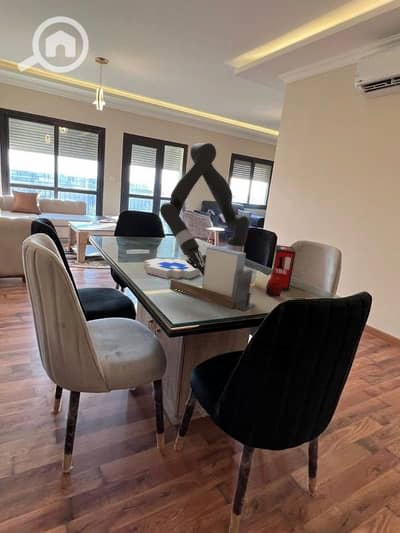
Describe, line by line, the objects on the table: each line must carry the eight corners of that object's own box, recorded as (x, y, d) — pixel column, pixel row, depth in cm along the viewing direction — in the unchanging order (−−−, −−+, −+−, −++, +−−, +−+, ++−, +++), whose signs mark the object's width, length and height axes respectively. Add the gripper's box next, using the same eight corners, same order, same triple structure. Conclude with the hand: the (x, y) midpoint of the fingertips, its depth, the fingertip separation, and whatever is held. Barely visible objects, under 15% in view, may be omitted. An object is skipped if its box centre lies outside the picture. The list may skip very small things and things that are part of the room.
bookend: (244, 301, 134) (249, 269, 131) (256, 304, 131) (261, 272, 128) (229, 308, 124) (234, 274, 120) (242, 312, 121) (247, 277, 118)
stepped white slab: (206, 265, 176) (180, 274, 152) (206, 272, 177) (180, 282, 153) (165, 256, 188) (134, 263, 164) (164, 262, 189) (134, 270, 165)
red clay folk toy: (283, 297, 146) (289, 265, 143) (272, 298, 143) (278, 266, 139) (272, 292, 153) (277, 261, 149) (261, 293, 149) (266, 262, 146)
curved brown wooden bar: (186, 283, 151) (187, 275, 150) (249, 302, 134) (250, 293, 133) (170, 288, 141) (170, 279, 140) (235, 309, 123) (237, 299, 122)
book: (208, 292, 140) (214, 246, 136) (238, 302, 132) (246, 253, 128) (200, 295, 135) (206, 247, 130) (231, 305, 127) (238, 254, 122)
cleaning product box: (269, 280, 174) (275, 244, 170) (286, 283, 172) (292, 247, 168) (270, 288, 158) (276, 249, 154) (288, 291, 157) (295, 252, 152)
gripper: (183, 238, 133) (203, 273, 129) (200, 236, 144) (220, 269, 140) (172, 248, 137) (191, 282, 133) (190, 246, 148) (208, 277, 144)
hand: (206, 275), depth 136 cm, fingers closed
